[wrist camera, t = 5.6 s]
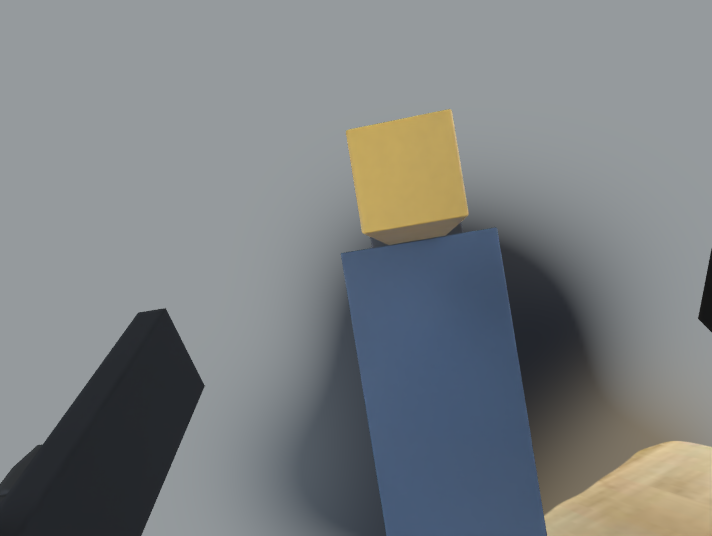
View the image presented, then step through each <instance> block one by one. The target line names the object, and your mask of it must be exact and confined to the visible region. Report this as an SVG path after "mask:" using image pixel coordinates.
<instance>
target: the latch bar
mask: <svg viewBox="0 0 712 536" xmlns="http://www.w3.org/2000/svg"><path fill="white" fill-rule="evenodd" d="M346 135H347V142H348V148H349V154H350V161H351V167H352V173H353V179H354V185H355V192H356V198H357V204H358V210H359V216H360V222H361V228H362V233H363V234H365V235H368V236H370V237H372V238H374V239H376V240H379V241H381V242H383V243H385V244H387V245H394V244H400V243H405V242H411V241H417V240H423V239H429V238H435V237H441V236H446V235H447V234H448V233H449V232H450V231H451V230H453V229H454V228H455V227H456V226H457V225H458V224H459V223H460V222H461V221H462V220H464V219H465V218H466V217H467V216H468V207H467V201H466V195H465V189H464V182H463V177H462V170H461V164H460V158H459V152H458V145H457V139H456V134H455V127H454V121H453V115H452V110H450V109H448V110H443V111H438V112H433V113H428V114H424V115H418V116H414V117H408V118H403V119H398V120H393V121H388V122H383V123H379V124H374V125H369V126H364V127H359V128H354V129H349V130H347V131H346Z"/></svg>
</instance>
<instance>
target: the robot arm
mask: <svg viewBox="0 0 712 536" xmlns="http://www.w3.org/2000/svg"><path fill="white" fill-rule="evenodd" d="M698 319H699V320H700V321H701V322H702V323H703V324H704V325H705V326H706V327H707V328H708V329H709V330H710V331H711V332H712V250H711V255H710V260H709V265H708V271H707V276H706V281H705V286H704V291H703V297H702V302H701V307H700V312H699V317H698ZM203 388H204V384H203V382H202V380H201V378H200V376H199V374H198V372H197V370H196V368H195V366H194V364H193V362H192V360H191V358H190V356H189V354H188V352H187V350H186V348H185V346H184V344H183V342H182V340H181V338H180V336H179V334H178V332H177V330H176V328H175V326H174V324H173V322H172V320H171V318H170V316H169V314H168V312H167V310H166V309H158V310H152V311H146V312H140V313H138V314H137V315H136V316H135V318H134V319H133V321H132V322H131V324H130V325H129V326H128V328H127V329H126V330H125V332H124V333H123V334H122V336H121V337H120V339H119V340H118V342H117V343H116V344H115V346H114V347H113V348H112V350H111V351H110V353H109V354H108V355H107V357H106V358H105V359H104V361H103V362H102V364H101V365H100V366H99V368H98V369H97V370H96V372H95V373H94V375H93V376H92V377H91V379H90V380H89V382H88V383H87V384H86V386H85V387H84V389H83V390H82V391H81V393H80V394H79V395H78V397H77V398H76V399H75V401H74V402H73V404H72V405H71V407H70V408H69V409H68V411H67V412H66V413H65V415H64V416H63V417H62V419H61V420H60V422H59V423H58V424H57V426H56V427H55V429H54V430H53V431H52V433H51V434H50V435H49V437H48V438H47V440H46V441H45V442H44V444H43V445H37V446H36V447H35V448H34V449H33V450H32V451H31V452H29V453H28V454H27V455H26V456H25V457H24V458H23V459H22V460H21V461H20V462H18V463H17V464H16V465H15V466H14V467H13V468H12V469H11V471H10V472H9V473H8V474H7V476H6V477H5V478H4V480H3V481H2V482H1V484H0V536H141V535H142V533H143V530H144V528H145V525H146V523H147V521H148V518H149V516H150V514H151V511H152V509H153V507H154V504H155V502H156V499H157V497H158V495H159V492H160V490H161V488H162V485H163V483H164V481H165V478H166V476H167V473H168V471H169V469H170V466H171V464H172V462H173V459H174V457H175V455H176V452H177V450H178V448H179V445H180V443H181V440H182V438H183V435H184V433H185V431H186V428H187V426H188V424H189V422H190V419H191V417H192V414H193V412H194V410H195V407H196V405H197V403H198V400H199V398H200V395H201V393H202V391H203Z"/></svg>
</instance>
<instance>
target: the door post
mask: <svg viewBox="0 0 712 536" xmlns="http://www.w3.org/2000/svg"><path fill="white" fill-rule="evenodd" d="M370 238H371V244H372V248H370V249H364V250H358V251H352V252H346V253H341V257H342V264H343V270H344V275H345V282H346V289H347V295H348V301H349V307H350V313H351V319H352V326H353V332H354V338H355V344H356V350H357V356H358V362H359V369H360V375H361V382H362V387H363V394H364V400H365V406H366V412H367V418H368V425H369V430H370V437H371V443H372V449H373V456H374V462H375V468H376V474H377V480H378V486H379V492H380V499H381V505H382V511H383V518H384V524H385V530H386V536H547V532H546V526H545V520H544V514H543V509H542V502H541V496H540V490H539V483H538V477H537V471H536V465H535V459H534V452H533V446H532V440H531V434H530V428H529V422H528V416H527V409H526V403H525V398H524V391H523V386H522V379H521V373H520V367H519V360H518V354H517V349H516V342H515V336H514V330H513V324H512V317H511V311H510V305H509V299H508V293H507V287H506V281H505V274H504V268H503V262H502V256H501V250H500V244H499V238H498V232H497V228H496V227H495V228H489V229H483V230H477V231H471V232H466V233H463V230H462V224H461V222H460V223H459V224H458V225H457V226H456V227H455V228H454V229H453V230H451V231H450V232H449V233H448V234H447V235H446V236H441V237H435V238H429V239H423V240H417V241H411V242H405V243H400V244H394V245H387V244H385V243H383V242H381V241H379V240H376V239H374V238H372V237H370Z"/></svg>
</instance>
